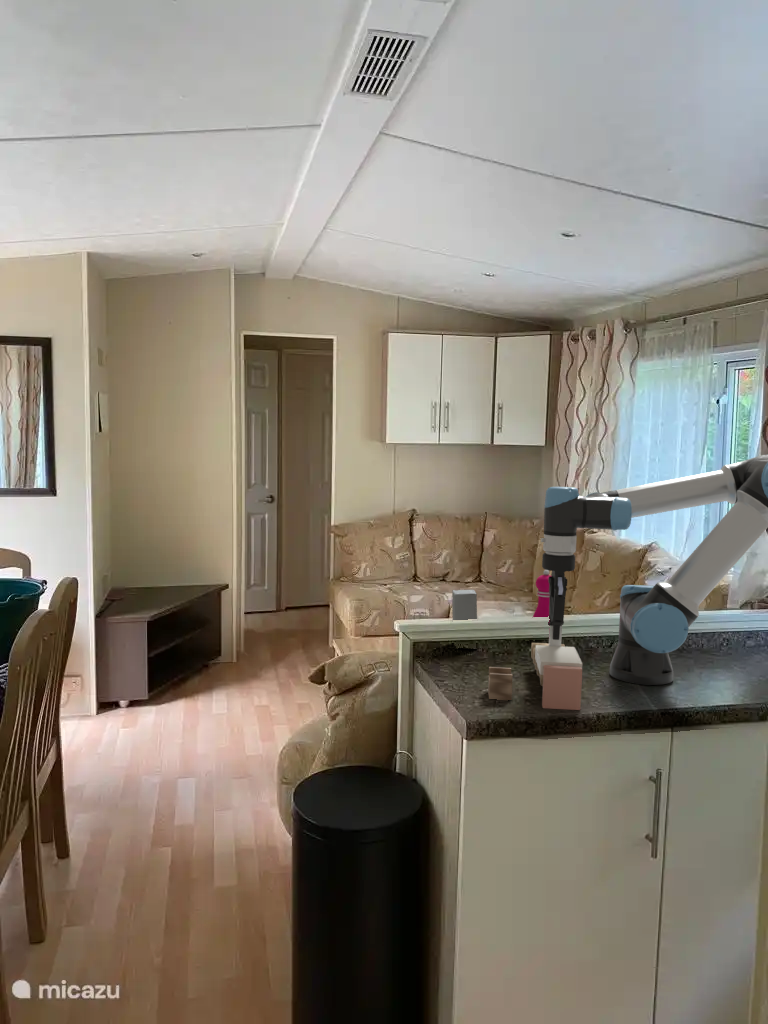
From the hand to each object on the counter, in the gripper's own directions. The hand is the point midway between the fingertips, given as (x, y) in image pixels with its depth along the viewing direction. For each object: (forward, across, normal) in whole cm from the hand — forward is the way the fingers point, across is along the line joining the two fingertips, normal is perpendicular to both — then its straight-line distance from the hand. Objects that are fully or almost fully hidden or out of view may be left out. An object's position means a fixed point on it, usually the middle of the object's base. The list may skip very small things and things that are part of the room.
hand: (554, 651), depth 191 cm
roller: (+5, +8, 0) cm, 10 cm away
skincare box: (+9, -35, -21) cm, 41 cm away
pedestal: (+8, +9, -13) cm, 18 cm away
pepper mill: (+9, -53, +3) cm, 53 cm away
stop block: (+8, +15, 0) cm, 18 cm away
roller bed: (+8, -1, 0) cm, 8 cm away
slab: (+2, +7, 0) cm, 7 cm away
